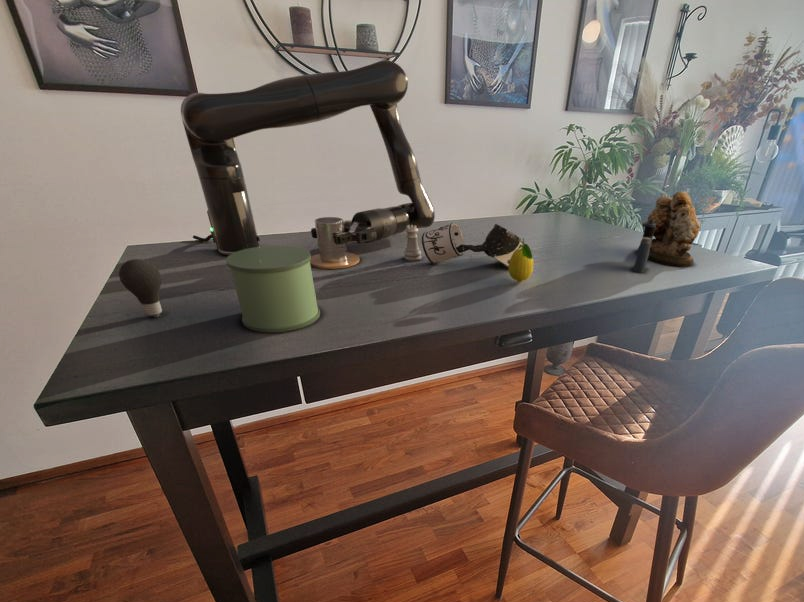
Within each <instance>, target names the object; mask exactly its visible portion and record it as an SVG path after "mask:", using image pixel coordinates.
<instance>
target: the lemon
mask: <svg viewBox="0 0 804 602" xmlns="http://www.w3.org/2000/svg"><path fill="white" fill-rule="evenodd" d="M522 242H523V244H522V245H520V246H519V248H518V249H517V250H516V251H515V252H514V253H513V255H512V256H511V259H510V262H509V267H508V273H509V276H510V278H511V279H513V280H514V281H516V282H517V283H519V284H521V283H522V282H523V281H527V280H528V279H529V278H530V277H531V275H532V274H533V270H534V259H533V254H532V250H531V248H530V246H529V245H528V244H527V243H525V238H524V237H523V238H522ZM524 243H525V244H524ZM523 245H524V246H523ZM521 247H522V248H521ZM520 248H521V249H520ZM519 249H520V250H519Z"/></svg>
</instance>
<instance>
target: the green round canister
mask: <svg viewBox="0 0 804 602" xmlns="http://www.w3.org/2000/svg"><path fill="white" fill-rule="evenodd" d="M311 256H312V255H311V252H310V251H309V250H308V249H306V248H302V247H298V246H292V245H263V246H261V245H260V247H254V248H248V249H244V250H240V251H237V252H235V253H233V254H231V255H229V256H228V255H227V257H226V259H225V263H226V266H227V267H228V268H229V270H230V273H231V276H232V280H233V284H234V288H235V292H236V296H237V299H238V303H239V307H240V310H241V314H242V316H241V321H242V324H243V326H244V327H245V328H247V329H249V330H251V331H254V332H259V333H268V334H269V333H286V332H291V331H295V330H300V329H303V328H306V327H308V326H310V325H312V324H313V323H315V322H316V321H318V320H319V318H320V316H321V309H320V307H319V306H318V302H317V295H316V291H315V286H314V284H315V283H314V278H313V274H312V273H313V272H312V271H313V270H312V266H311V265H310V260H311Z"/></svg>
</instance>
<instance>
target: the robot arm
mask: <svg viewBox="0 0 804 602" xmlns="http://www.w3.org/2000/svg"><path fill="white" fill-rule="evenodd" d="M408 86H409V80H408V77H407V74H406V72H405V70H404V69H403V68H402V67H401V65H399V64H398V63H397V62H395V61H393V60H389V59H383V60H378V61H376V62H374V63H371V64H367V65H364V66H361V67H357V68H354V69H349V70H342V71H328V72H326V71H325V72H319V73H318V72H317V73H309V74H301V75H296V76H295V75H294V76H289V77H285V78H281V79H277V80H274V81H270V82H268V83H265V84H262V85H259V86H258V87H255V88H252V89H248V90H244V91H237V92H235V91H234V92H224V93H221V92H220V93H204V92H194V93H191V94H188V95H187V96H186V97H184V98H183V100H182V102H181V104H180V117H181V121H182V124H183V129H184V132H185V135H186V139H187V142H188V143H187V144H188V146H189V149H190V153H191V156H192V160H193V162H194V165H195V168H196V173H197V176H198V179H199V182H200V183H199V184H200V186H201V190H202V193H203V197H204V200H205V204H206V208H207V210H206V212H207V214H206V215H207V217H208V220H209V224H210V234H208V235H207V236H206V237H201V236H198V235H194V234H193V235H192V239H194V240H197V241H199V242H203V243H204V242H209V241H210V240H212V242H213V243H214V244H215V246H216V250H217V251H218V253H219V254H220V255H224V256H227V257H228V256H229V255H231V254H233V253H235V252H237V251H240V250H244V249H248V248H254V247H261V245H260V243H259V242H261V241H260V237H259V236H258V234H257V229H256V224H255V220H254V215H253V211H252V206H251V201H250V197H249V193H248V189H247V184H246V181H245V176H244V171H243V167H242V163H241V161H240V158H239V154H238V152H237V148H236V143H235V140H234V139H236V138H238V137H241V136H244V135H247V134H250V133H253V132H258V131H262V130H268V129H280V128H289V127H290V128H291V127H296V126H302V125H308V124H313V123H318V122H321V121H326V120H329V119H331V118H334V117H336V116H339V115H341V114H344V113H347V112H349V111H351V110H353V109H356V108H360V107H365V106H369V107H370V110H371V112H372V114H373V117H374V119H375V121H376V124H377V127H378V129H379V132H380V135H381V138H382V140H383V143H384V146H385V149H386V153H387V157H388V161H389V163H390V167H391V171H392V174H393V179H394V183H395V186H396V189H397V191H398V193H399V194H400V195H404V196H407V197H408V198H409V199H410V201H411V202H408V203H402V204H399V205H396V206H395V205H394V206H388V207H382V208H381V207H379V208H372V209H368V210H362V211H358V212H355V213H354V215H353V216H352V218H351V220H350V219H349V220H348V219H347V220H343V221H344V229H345V232H344V233H340V234H336V235H334V241H335V244H337V245H340V244H344V243H346V244H348V243H351V244H355V243H356V244H358V245H361V244H369V243H373V242H376V241H380V240H383V239H387V238H389V237H391V236H395V235H399V234H402V233H404V232H406V231H405V229H406V228H407V227H406V226H407V225H410V227H411V225H413V227H414V225H416V226H417V229H426V228H429V227H431V226H432V225H433V224H434V222H435V218H436V212H435V208H434V205H433V203H432V201H431V199H430V197H429V195H428V192H427V190H426V188H425V186H424V184H423V183H422V178H421V174H420V171H419V166H418V162H417V159H416V155H415V153H414V150H413V149H412V147H411V144H410V143H409V141H408V138H407V136H406V134H405V131H404V129H403V126H402V123H401V120H400V115H399V109H398V103H400V102H401V101H402V100H403V99H404V98H405V96H406V94H407V91H408ZM310 233H311V238H312V239H317V233H316V227H312V228H311V229H310Z"/></svg>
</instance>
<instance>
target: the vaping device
mask: <svg viewBox="0 0 804 602" xmlns="http://www.w3.org/2000/svg"><path fill="white" fill-rule="evenodd" d="M645 226H646V227H644V230H643V234H642V238H641V241H640V243H639V246H638V248H639V249H638V248H637V253H636V258H635V262H634V266H633V272H635V273H641V274H642V273H644V272H645V270H646V266H647V263H648V260H649V259H648V256H649V251H650V246H651V242H652V239H654V236H653V234H654V230H655V226H656V224H655V223H654V220H653V219H650V220H649V223H646V225H645Z"/></svg>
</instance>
